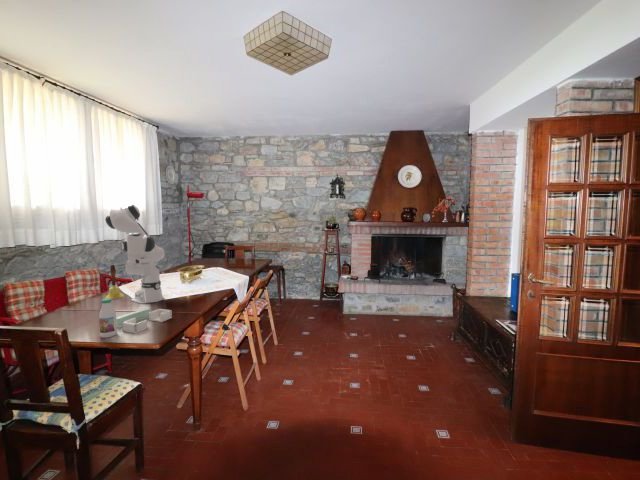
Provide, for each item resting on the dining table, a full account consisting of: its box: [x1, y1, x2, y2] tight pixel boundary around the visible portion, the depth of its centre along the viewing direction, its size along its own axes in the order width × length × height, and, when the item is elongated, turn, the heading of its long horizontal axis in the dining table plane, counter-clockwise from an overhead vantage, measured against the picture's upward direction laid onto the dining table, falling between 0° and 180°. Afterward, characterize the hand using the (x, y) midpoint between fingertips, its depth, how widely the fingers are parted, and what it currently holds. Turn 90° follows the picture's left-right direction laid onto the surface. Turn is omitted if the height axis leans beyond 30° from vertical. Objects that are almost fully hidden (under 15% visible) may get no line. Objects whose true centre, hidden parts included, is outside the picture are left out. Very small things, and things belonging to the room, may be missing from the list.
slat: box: [116, 307, 152, 329], centre depth 194 cm, size 21×4×6 cm, turn 154°
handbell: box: [104, 264, 125, 300], centre depth 246 cm, size 12×12×25 cm
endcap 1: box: [121, 318, 149, 334], centre depth 181 cm, size 8×10×5 cm
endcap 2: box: [148, 308, 173, 323], centre depth 198 cm, size 8×10×5 cm
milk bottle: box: [98, 298, 118, 339], centre depth 172 cm, size 8×8×20 cm
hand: (138, 281), depth 196 cm, fingers open, 8 cm apart
